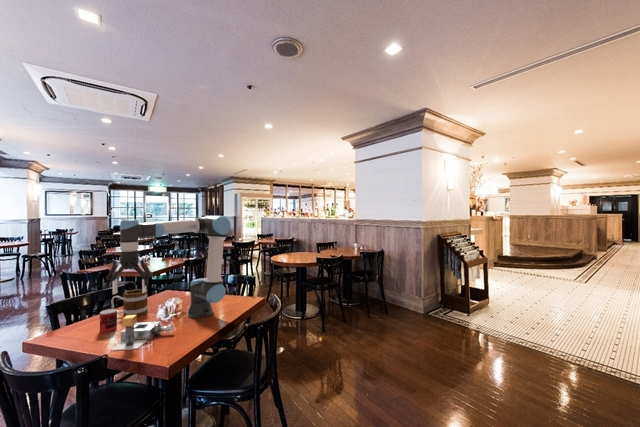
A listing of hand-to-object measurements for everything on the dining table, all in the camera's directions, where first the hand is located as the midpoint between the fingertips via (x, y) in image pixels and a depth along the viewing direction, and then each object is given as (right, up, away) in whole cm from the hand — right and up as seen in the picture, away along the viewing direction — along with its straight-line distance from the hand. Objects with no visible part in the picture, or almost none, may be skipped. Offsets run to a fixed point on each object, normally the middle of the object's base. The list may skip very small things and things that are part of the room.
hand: (129, 292), depth 138 cm
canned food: (-25, -27, +18) cm, 41 cm away
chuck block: (+3, -26, +12) cm, 29 cm away
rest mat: (0, -26, 0) cm, 26 cm away
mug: (-29, -27, +42) cm, 57 cm away
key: (0, -26, 0) cm, 26 cm away
